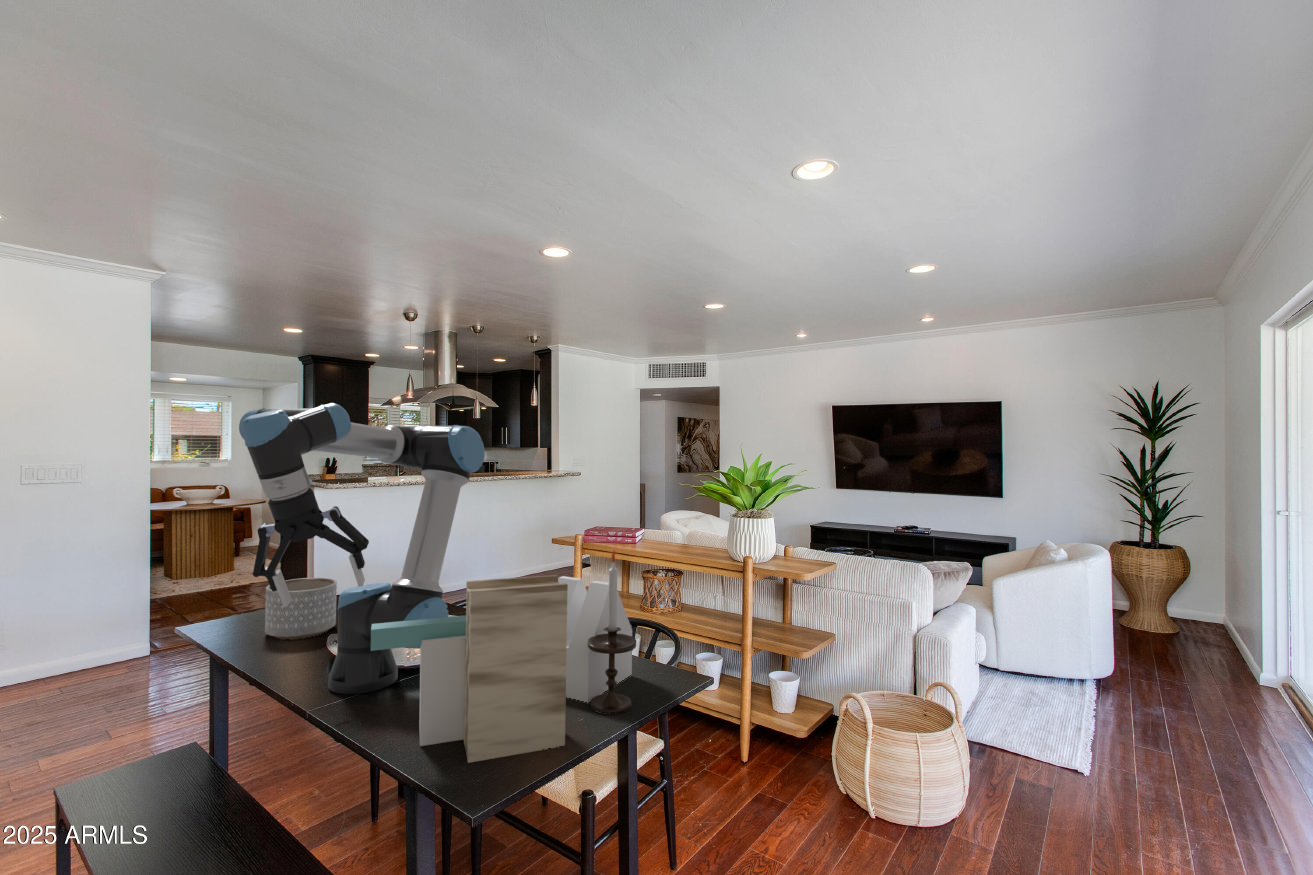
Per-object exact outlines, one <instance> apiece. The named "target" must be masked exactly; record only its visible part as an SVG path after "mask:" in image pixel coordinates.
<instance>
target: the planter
mask: <svg viewBox="0 0 1313 875" xmlns="http://www.w3.org/2000/svg"><path fill="white" fill-rule="evenodd" d="M285 583H286V585H287V588H288V591H289V593H290V596H291V599H292V600H291V602H290V603H289V605H288V606H286V607H283V604H282V601H281V599H280V596H279V594H278V591H274V592H273V591H272V590H271V588H270V585H269V584H268V585H267V586H266V587H265V609H264V610H265V611H264V613H265V616H264V618H265V620H264V633H265V634H266V635H267V636H271V637H273V636H274V637H276V638H275V639H277V638H280V639H279V640H286V639H290V640H297V639H296V638H302V639H306V638H305V637H309V638H312V637H311V636H313V637H316V635H317V636H320V635H323V634H325V633H327V632H328V631H329V630H330V629H332V628H333V627H335V626H336V624H337V593H338V592H337V588H338V586H337V580H336V579H334V578H329V577H328V578H327V577H303V578H301V577H300V578H292V579H288V580H287V579H286V580H285ZM324 632H325V633H324ZM322 633H323V634H322ZM319 634H320V635H319ZM274 637H273V638H274Z"/></svg>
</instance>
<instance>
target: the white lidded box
mask: <svg viewBox="0 0 1313 875" xmlns="http://www.w3.org/2000/svg"><path fill="white" fill-rule="evenodd" d="M465 642H466V636H459V637H449V638H439V639H429V640H422V645H421V649H420V658H419V659H420V660H419V661H420V662H419V663H420V664H419V666H420V667H419V706H418V707H419V710H418V711H419V713H418V714H419V717H418V719H419V720H418V729H419V730H418V731H419V747H424V746H431V745H436V744H442V743H443V744H444V743H449V742H455V741H456V742H457V741H462V740H463V741H464V698H465Z"/></svg>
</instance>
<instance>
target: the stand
mask: <svg viewBox="0 0 1313 875" xmlns="http://www.w3.org/2000/svg"><path fill="white" fill-rule="evenodd" d="M558 578H559V575H558V574H552V575H551V574H550V575H537V576H536V575H535V576H521V577H506V578H491V579H477V580H476V579H475V580H467V581H466V588H465V589H466V592H465V593H466V596H465V604H466V605H465V609H466V610H465V615H466V642H465V698H464V739H463V744H464V748H465V754H466V755H465V756H466V759H467V763H468V764H469V763H474V762H482V761H487V760H492V759H493V760H494V759H498V758H504V757H505V758H506V757H509V756H510V757H511V756H514V755H515V756H517V755H522V754H527V753H532V752H538V751H544V750H549V749H548V748H551V749H557V748H560V747H559V746H563V747H565V746H566V713H567V712H566V702H567V700H566V699H567V698H566V651H567V590H568V584H567V583H563V584H560V583H559V582H558ZM564 745H565V746H564ZM556 747H557V748H556ZM543 749H544V750H543Z"/></svg>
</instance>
